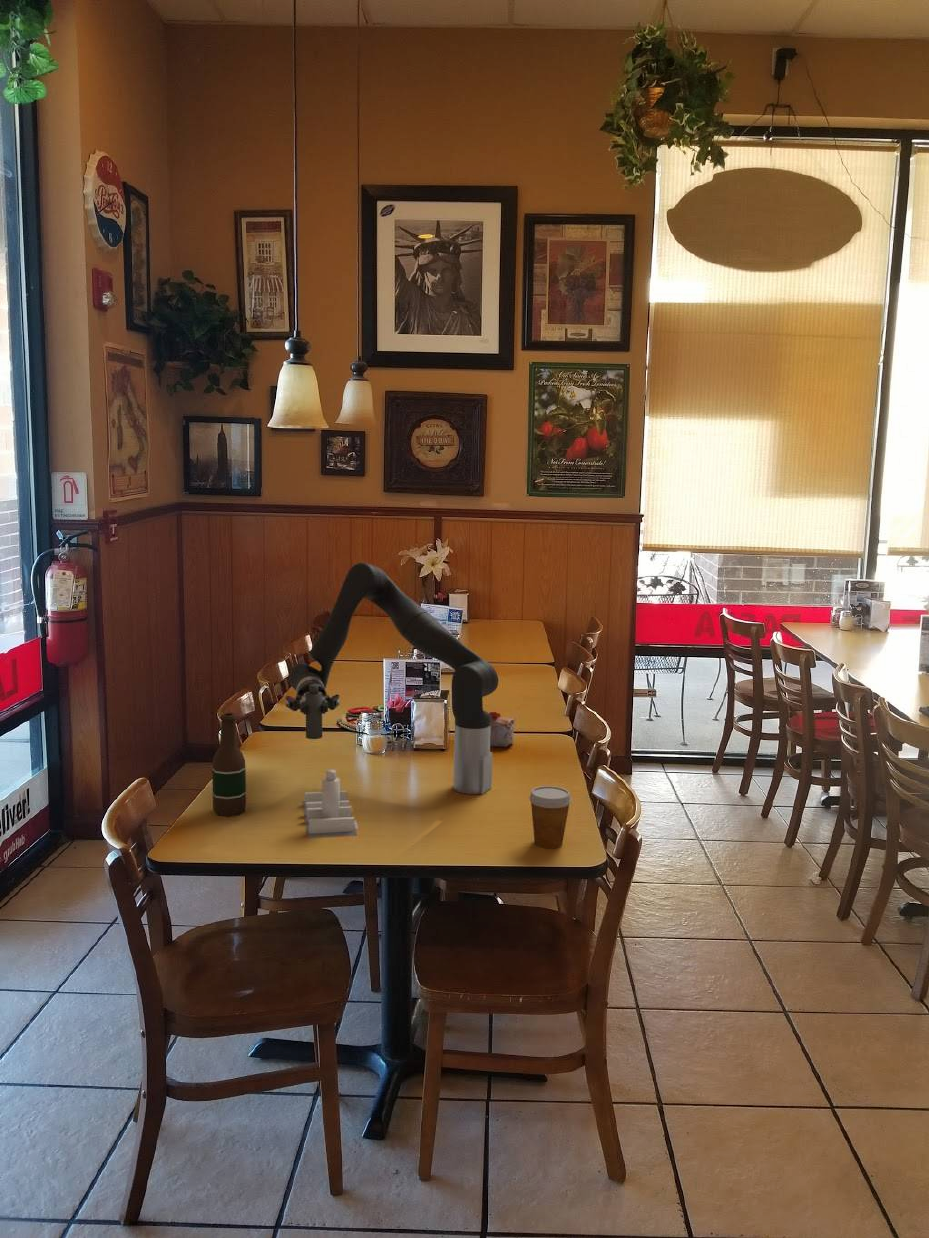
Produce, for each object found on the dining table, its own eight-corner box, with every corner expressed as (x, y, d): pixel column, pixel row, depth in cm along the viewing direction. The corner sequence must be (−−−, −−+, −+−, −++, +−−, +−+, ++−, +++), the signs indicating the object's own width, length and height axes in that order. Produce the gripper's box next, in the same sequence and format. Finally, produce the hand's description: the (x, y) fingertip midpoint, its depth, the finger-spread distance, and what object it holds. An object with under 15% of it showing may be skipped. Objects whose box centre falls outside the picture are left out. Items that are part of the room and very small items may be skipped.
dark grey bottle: (325, 735, 252) (325, 684, 250) (316, 739, 248) (316, 687, 246) (311, 733, 253) (311, 682, 251) (302, 737, 250) (302, 686, 248)
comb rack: (302, 806, 249) (302, 788, 248) (350, 804, 251) (350, 786, 250) (307, 844, 226) (307, 824, 225) (359, 841, 228) (360, 822, 227)
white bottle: (342, 824, 234) (343, 769, 232) (333, 830, 230) (334, 774, 228) (327, 821, 235) (328, 767, 233) (318, 826, 232) (318, 771, 230)
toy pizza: (325, 717, 331) (325, 704, 330) (403, 709, 344) (404, 697, 343) (357, 740, 307) (357, 726, 306) (439, 730, 319) (440, 717, 319)
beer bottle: (232, 803, 250) (231, 708, 246) (252, 811, 245) (251, 714, 241) (206, 811, 244) (204, 714, 240) (226, 819, 239) (225, 720, 235)
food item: (517, 743, 307) (518, 711, 305) (510, 750, 299) (511, 718, 298) (474, 738, 311) (475, 706, 309) (465, 745, 304) (466, 713, 302)
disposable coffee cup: (566, 835, 235) (568, 785, 233) (572, 851, 225) (574, 799, 223) (525, 834, 234) (527, 784, 232) (529, 851, 225) (531, 799, 223)
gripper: (283, 680, 261) (284, 695, 245) (338, 678, 264) (344, 694, 248) (283, 708, 263) (284, 726, 246) (338, 706, 265) (344, 724, 249)
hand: (314, 710), depth 247 cm, fingers closed on dark grey bottle, 4 cm apart
